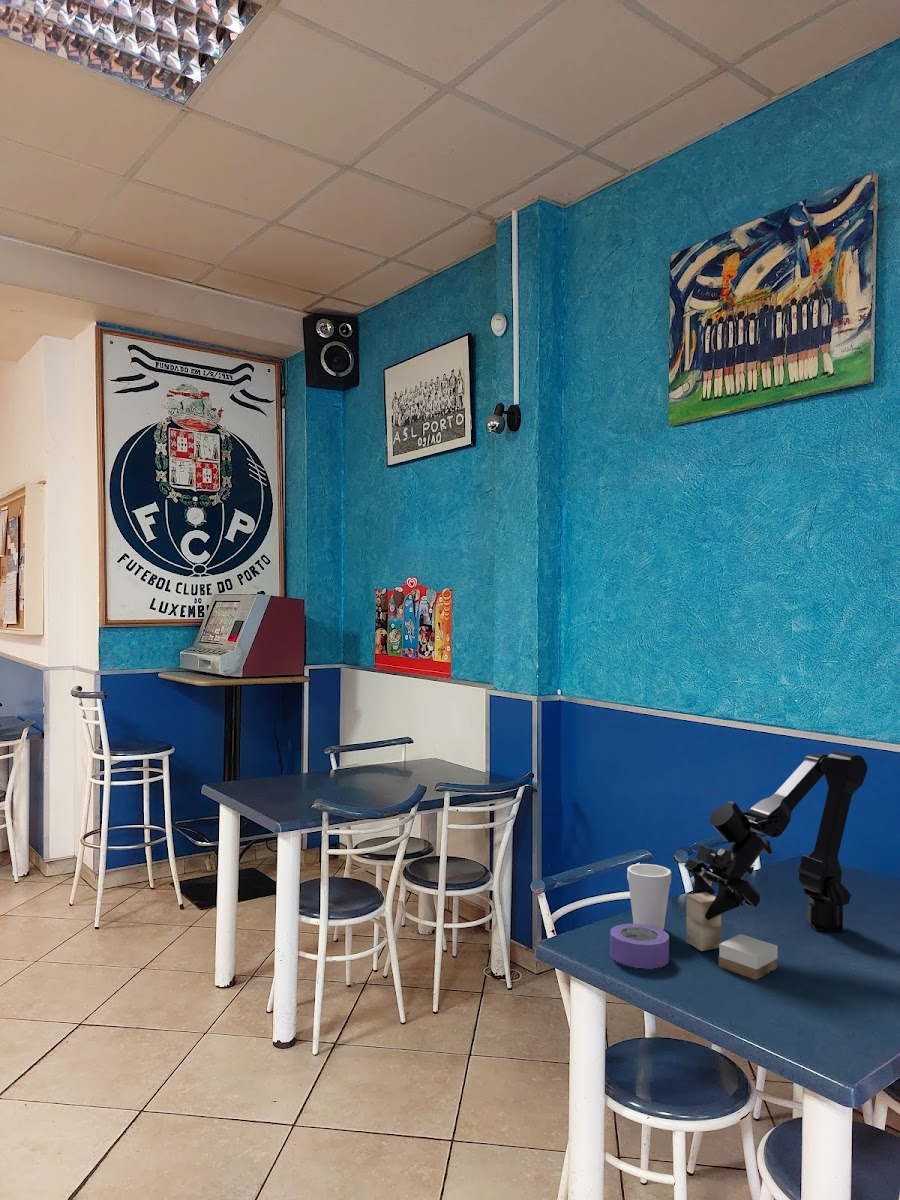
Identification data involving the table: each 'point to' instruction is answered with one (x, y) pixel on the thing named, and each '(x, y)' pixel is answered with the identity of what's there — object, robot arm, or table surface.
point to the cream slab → (748, 951)
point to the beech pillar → (702, 922)
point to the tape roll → (639, 945)
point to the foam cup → (649, 893)
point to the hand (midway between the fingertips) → (698, 914)
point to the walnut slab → (747, 968)
